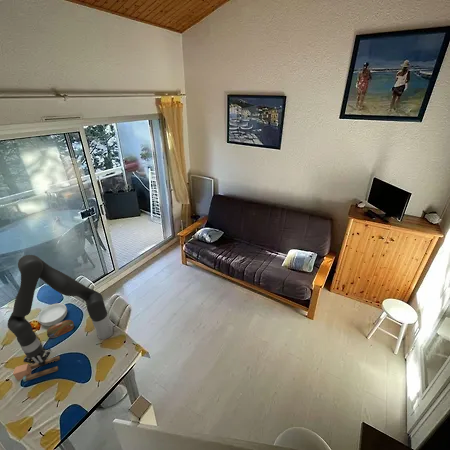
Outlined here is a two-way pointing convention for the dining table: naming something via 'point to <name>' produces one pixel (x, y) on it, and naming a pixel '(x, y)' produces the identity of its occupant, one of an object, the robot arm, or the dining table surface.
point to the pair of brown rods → (42, 371)
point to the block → (22, 371)
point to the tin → (60, 328)
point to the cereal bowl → (52, 314)
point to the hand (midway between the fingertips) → (43, 364)
